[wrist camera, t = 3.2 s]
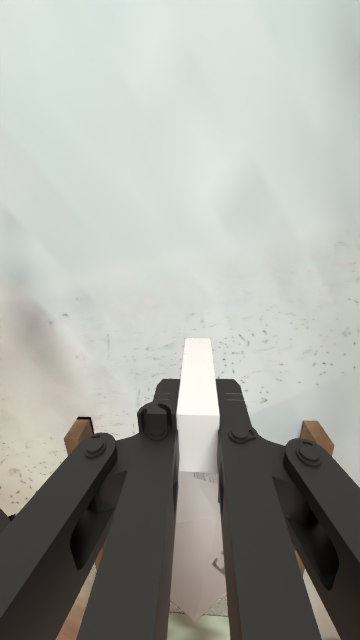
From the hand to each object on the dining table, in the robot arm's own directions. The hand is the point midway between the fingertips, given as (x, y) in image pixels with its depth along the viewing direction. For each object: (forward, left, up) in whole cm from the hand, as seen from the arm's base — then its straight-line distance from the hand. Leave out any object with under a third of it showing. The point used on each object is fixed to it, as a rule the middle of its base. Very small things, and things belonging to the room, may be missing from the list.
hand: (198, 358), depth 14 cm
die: (0, -13, -4) cm, 14 cm away
